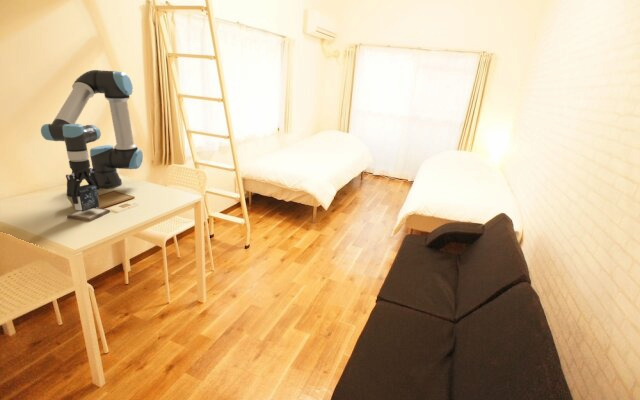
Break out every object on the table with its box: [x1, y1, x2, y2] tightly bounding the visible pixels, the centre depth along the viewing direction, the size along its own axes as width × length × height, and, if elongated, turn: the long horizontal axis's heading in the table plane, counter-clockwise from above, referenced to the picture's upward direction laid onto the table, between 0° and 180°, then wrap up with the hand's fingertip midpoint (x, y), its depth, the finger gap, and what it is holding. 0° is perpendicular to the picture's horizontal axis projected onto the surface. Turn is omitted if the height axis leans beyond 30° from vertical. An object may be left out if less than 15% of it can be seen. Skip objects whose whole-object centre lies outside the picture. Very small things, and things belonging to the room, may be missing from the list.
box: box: [78, 183, 100, 211], centre depth 155 cm, size 8×6×11 cm
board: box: [66, 207, 111, 222], centre depth 158 cm, size 12×12×1 cm
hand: (87, 206), depth 157 cm, fingers closed on box, 9 cm apart
